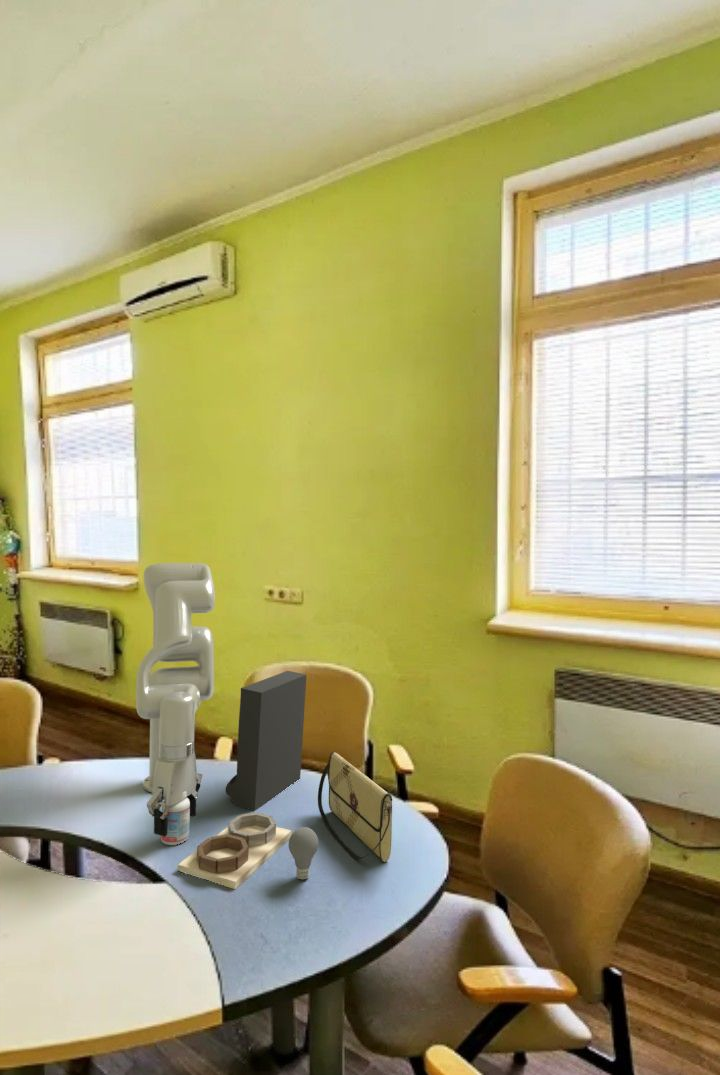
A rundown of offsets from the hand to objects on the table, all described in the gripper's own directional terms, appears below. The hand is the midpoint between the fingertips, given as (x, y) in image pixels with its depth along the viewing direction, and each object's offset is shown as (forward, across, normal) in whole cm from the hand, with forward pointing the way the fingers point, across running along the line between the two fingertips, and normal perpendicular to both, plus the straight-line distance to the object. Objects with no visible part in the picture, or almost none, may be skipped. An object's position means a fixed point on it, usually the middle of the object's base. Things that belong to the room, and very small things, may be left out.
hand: (175, 824), depth 137 cm
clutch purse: (+4, -18, +35) cm, 40 cm away
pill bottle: (+3, 0, 0) cm, 3 cm away
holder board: (+3, -1, +16) cm, 16 cm away
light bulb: (+3, +1, +33) cm, 33 cm away
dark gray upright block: (+3, -30, +5) cm, 31 cm away
